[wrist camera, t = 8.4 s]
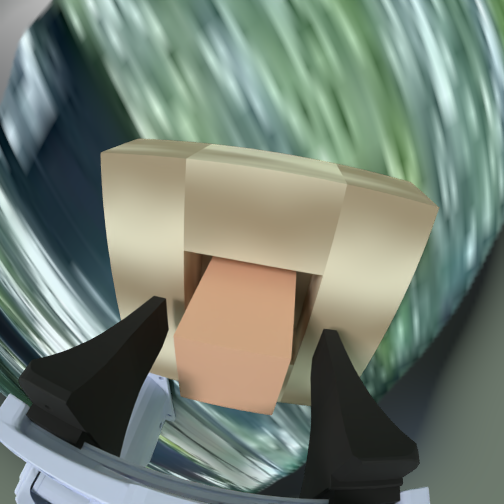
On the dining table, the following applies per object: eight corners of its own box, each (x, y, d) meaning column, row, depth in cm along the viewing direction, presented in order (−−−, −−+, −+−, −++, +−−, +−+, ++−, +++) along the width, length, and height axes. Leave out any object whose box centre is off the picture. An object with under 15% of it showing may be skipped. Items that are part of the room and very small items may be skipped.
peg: (284, 312, 17) (271, 415, 11) (217, 300, 18) (180, 396, 12) (296, 253, 15) (290, 358, 9) (220, 241, 16) (173, 335, 10)
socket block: (337, 369, 20) (339, 408, 17) (151, 333, 21) (133, 367, 18) (411, 182, 13) (439, 207, 10) (139, 138, 14) (100, 152, 11)
